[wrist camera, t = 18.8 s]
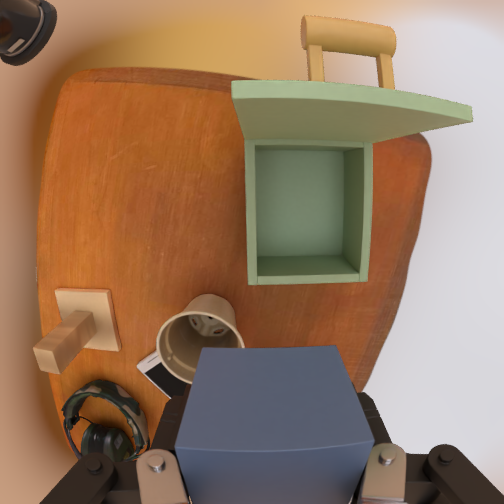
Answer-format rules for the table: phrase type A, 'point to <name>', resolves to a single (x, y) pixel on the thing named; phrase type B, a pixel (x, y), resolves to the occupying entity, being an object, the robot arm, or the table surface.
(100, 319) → the post
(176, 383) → the smartphone
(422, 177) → the table surface
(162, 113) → the table surface
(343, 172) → the chest
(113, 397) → the headphones
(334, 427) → the block
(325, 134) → the lid
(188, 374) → the flower pot
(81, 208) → the table surface
